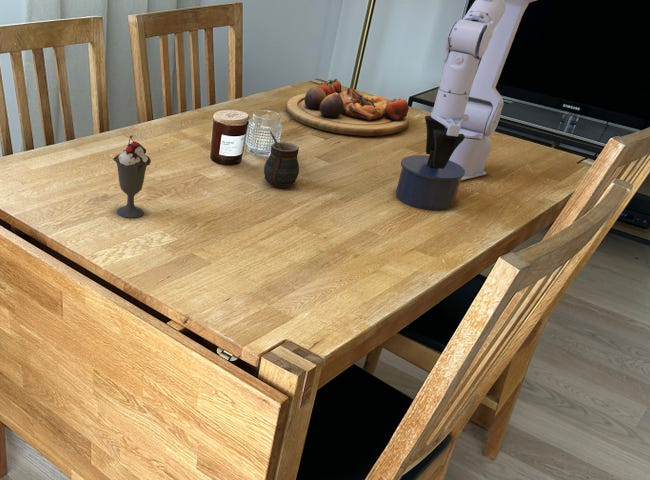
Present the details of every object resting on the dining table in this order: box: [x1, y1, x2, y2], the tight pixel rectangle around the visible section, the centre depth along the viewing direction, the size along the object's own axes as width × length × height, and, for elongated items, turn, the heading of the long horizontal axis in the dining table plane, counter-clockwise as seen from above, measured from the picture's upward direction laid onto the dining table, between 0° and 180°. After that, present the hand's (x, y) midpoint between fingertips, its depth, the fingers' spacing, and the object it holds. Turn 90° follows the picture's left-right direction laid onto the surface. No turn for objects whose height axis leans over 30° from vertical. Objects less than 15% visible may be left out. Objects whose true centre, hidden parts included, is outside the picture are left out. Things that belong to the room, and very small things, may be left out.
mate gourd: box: [263, 131, 300, 189], centre depth 147 cm, size 7×8×10 cm
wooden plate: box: [285, 78, 410, 137], centre depth 189 cm, size 32×32×8 cm
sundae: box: [112, 134, 152, 219], centre depth 130 cm, size 7×7×15 cm
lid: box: [400, 149, 465, 180], centre depth 144 cm, size 12×12×4 cm
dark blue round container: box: [395, 167, 462, 211], centre depth 147 cm, size 11×11×6 cm
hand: (434, 160), depth 144 cm, fingers open, 7 cm apart
